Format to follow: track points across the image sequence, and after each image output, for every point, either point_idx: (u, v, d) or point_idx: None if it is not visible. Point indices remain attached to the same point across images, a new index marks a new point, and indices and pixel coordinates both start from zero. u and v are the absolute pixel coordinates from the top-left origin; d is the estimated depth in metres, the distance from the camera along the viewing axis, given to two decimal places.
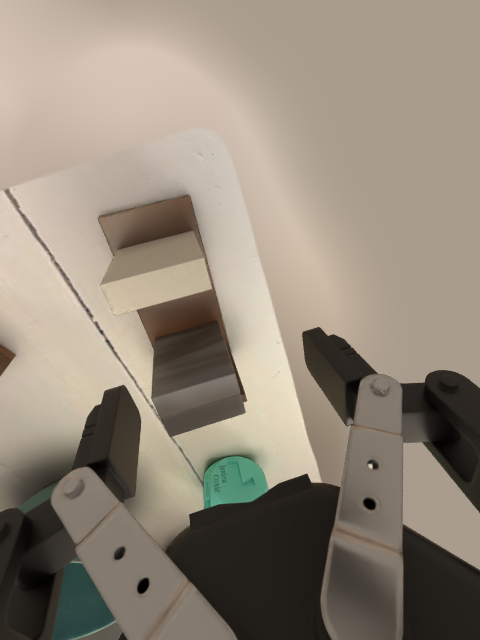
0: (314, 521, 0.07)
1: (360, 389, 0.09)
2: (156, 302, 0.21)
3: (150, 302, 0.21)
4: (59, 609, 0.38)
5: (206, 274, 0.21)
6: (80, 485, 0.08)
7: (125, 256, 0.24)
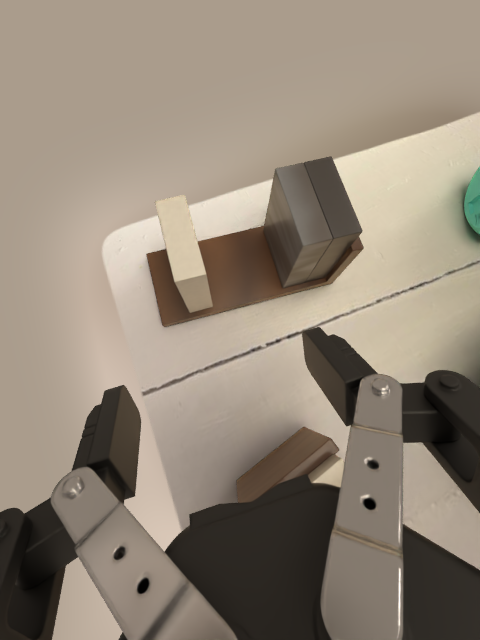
0: (314, 521, 0.07)
1: (360, 389, 0.09)
2: (194, 239, 0.23)
3: (194, 243, 0.23)
4: None
5: (170, 199, 0.24)
6: (81, 485, 0.08)
7: None
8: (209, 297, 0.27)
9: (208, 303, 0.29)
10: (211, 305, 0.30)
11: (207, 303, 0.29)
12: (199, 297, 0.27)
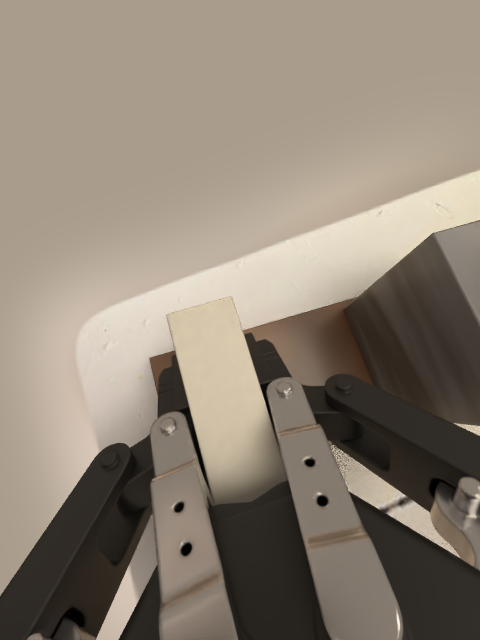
0: None
1: (266, 391, 0.10)
2: (262, 408, 0.10)
3: (262, 421, 0.10)
4: None
5: (200, 307, 0.11)
6: (173, 427, 0.10)
7: None
8: None
9: None
10: None
11: None
12: None
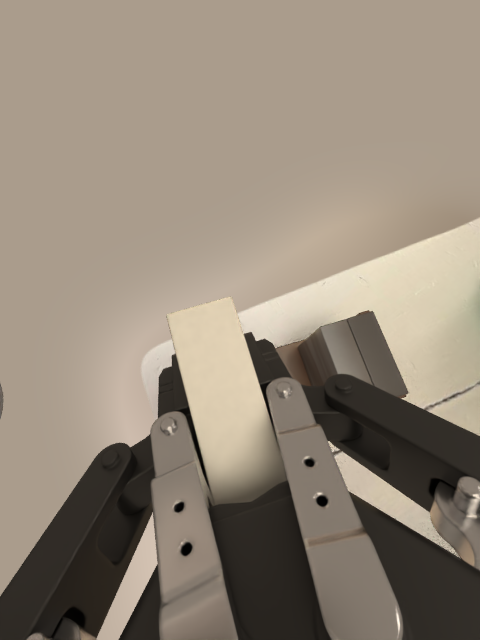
0: None
1: (266, 391, 0.10)
2: (262, 408, 0.10)
3: (262, 421, 0.10)
4: None
5: (200, 307, 0.11)
6: (174, 427, 0.10)
7: None
8: None
9: None
10: None
11: None
12: None
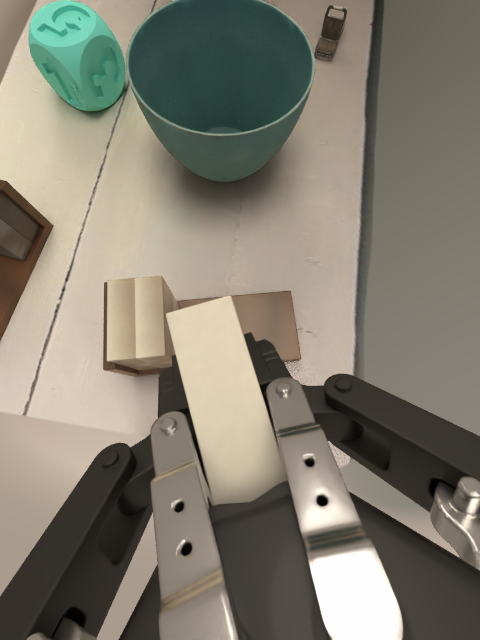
0: None
1: (266, 391, 0.10)
2: (261, 407, 0.10)
3: (261, 420, 0.10)
4: (270, 43, 0.34)
5: (199, 306, 0.11)
6: (174, 427, 0.10)
7: None
8: None
9: None
10: None
11: None
12: None
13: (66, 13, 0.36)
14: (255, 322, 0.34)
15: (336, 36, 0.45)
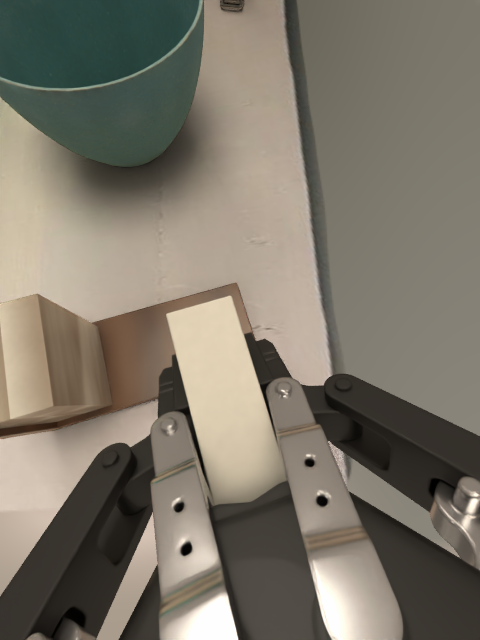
0: None
1: (266, 391, 0.10)
2: (262, 407, 0.10)
3: (262, 421, 0.10)
4: None
5: (200, 307, 0.11)
6: (174, 427, 0.10)
7: None
8: None
9: None
10: None
11: None
12: None
13: None
14: None
15: None
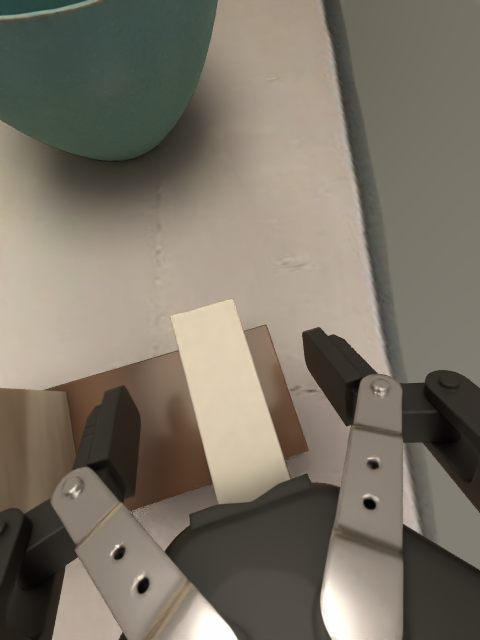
0: (314, 521, 0.07)
1: (360, 389, 0.09)
2: (263, 406, 0.10)
3: (263, 419, 0.10)
4: None
5: (203, 309, 0.11)
6: (81, 484, 0.08)
7: None
8: None
9: None
10: None
11: None
12: None
13: None
14: None
15: None
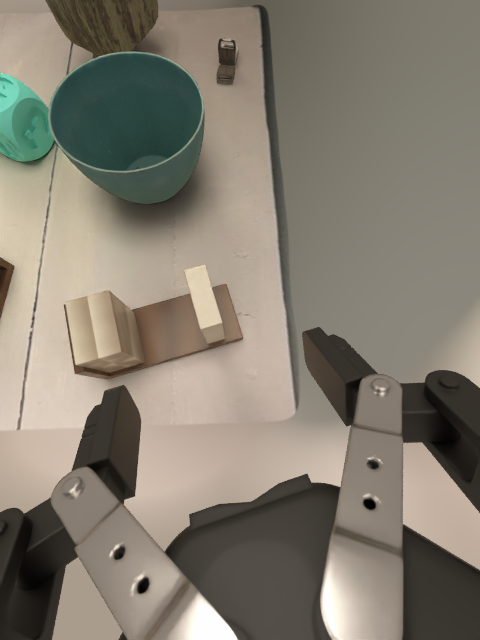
0: (314, 521, 0.07)
1: (360, 389, 0.09)
2: (213, 297, 0.32)
3: (213, 300, 0.32)
4: (168, 85, 0.41)
5: (194, 268, 0.33)
6: (81, 485, 0.08)
7: None
8: (223, 334, 0.37)
9: (222, 337, 0.38)
10: (223, 338, 0.39)
11: (221, 337, 0.38)
12: (216, 334, 0.36)
13: None
14: None
15: (232, 62, 0.53)
